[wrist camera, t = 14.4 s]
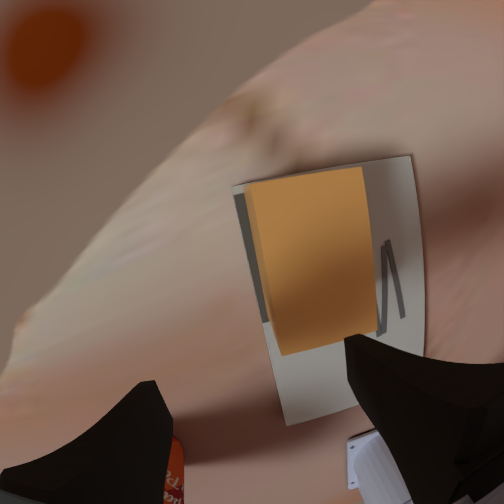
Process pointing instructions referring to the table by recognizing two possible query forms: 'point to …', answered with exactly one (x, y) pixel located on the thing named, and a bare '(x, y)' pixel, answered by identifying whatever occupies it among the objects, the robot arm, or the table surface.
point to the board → (387, 292)
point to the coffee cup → (175, 475)
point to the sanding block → (314, 257)
